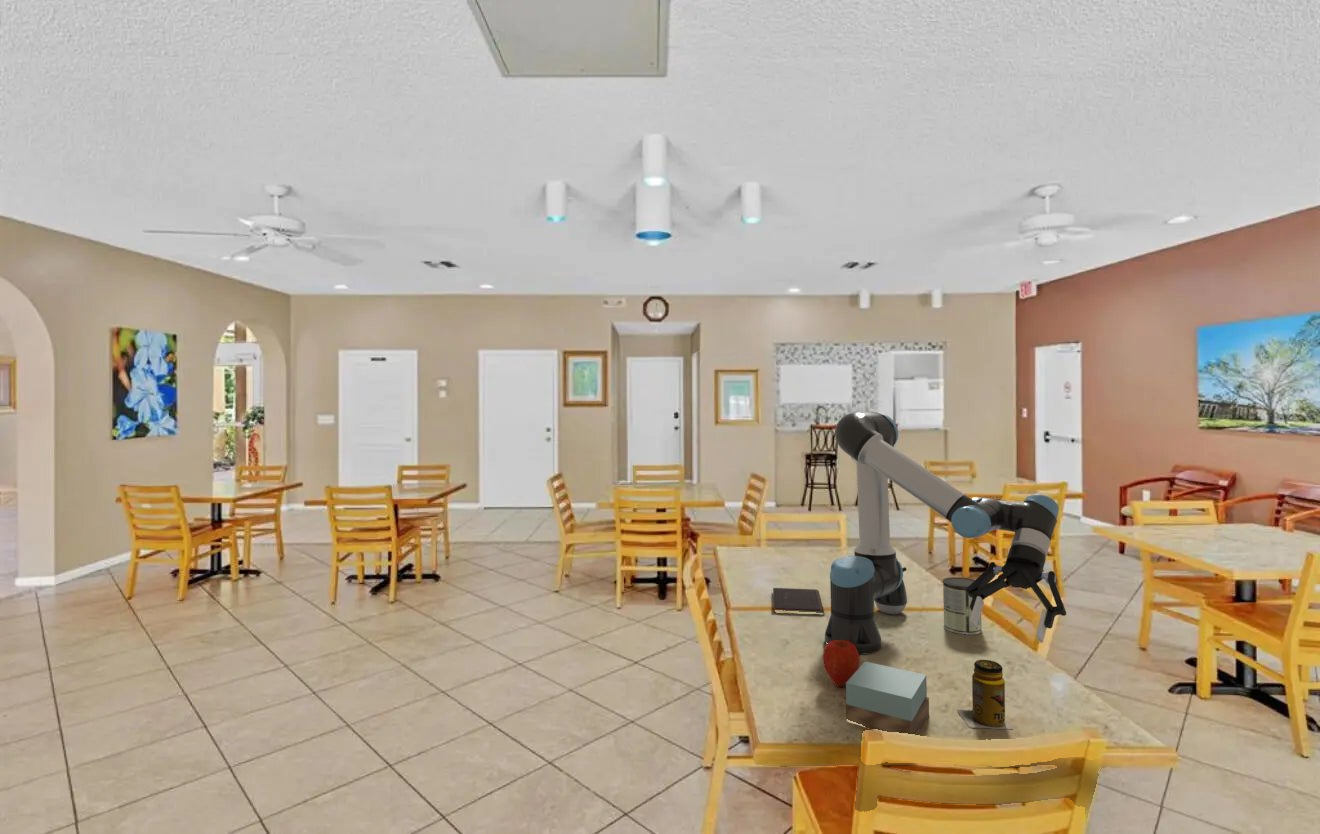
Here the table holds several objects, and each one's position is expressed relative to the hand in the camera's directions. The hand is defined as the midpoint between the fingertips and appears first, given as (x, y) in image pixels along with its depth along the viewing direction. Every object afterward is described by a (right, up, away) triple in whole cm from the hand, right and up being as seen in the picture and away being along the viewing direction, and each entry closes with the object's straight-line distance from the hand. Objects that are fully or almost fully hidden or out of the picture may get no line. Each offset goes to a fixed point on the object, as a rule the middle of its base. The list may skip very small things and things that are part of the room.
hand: (1004, 631), depth 136 cm
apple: (-33, -17, +10) cm, 38 cm away
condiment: (-8, -17, -7) cm, 20 cm away
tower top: (-28, -12, -6) cm, 31 cm away
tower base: (-28, -17, -6) cm, 33 cm away
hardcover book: (-30, -17, +73) cm, 81 cm away
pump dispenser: (-1, -16, +63) cm, 65 cm away
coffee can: (+14, -16, +47) cm, 51 cm away
